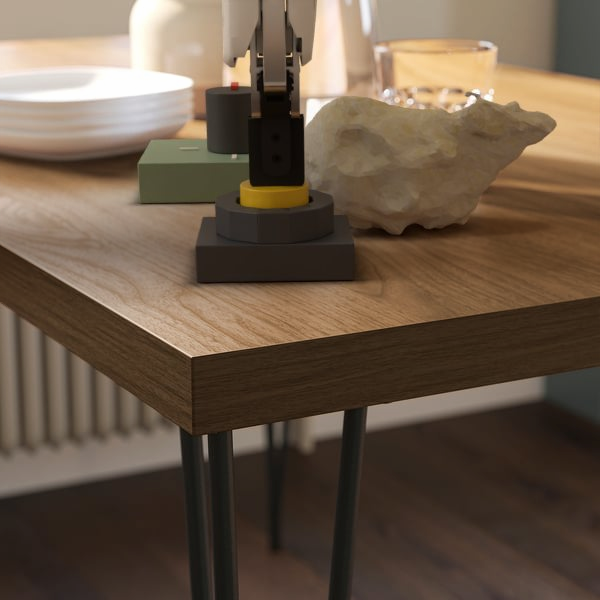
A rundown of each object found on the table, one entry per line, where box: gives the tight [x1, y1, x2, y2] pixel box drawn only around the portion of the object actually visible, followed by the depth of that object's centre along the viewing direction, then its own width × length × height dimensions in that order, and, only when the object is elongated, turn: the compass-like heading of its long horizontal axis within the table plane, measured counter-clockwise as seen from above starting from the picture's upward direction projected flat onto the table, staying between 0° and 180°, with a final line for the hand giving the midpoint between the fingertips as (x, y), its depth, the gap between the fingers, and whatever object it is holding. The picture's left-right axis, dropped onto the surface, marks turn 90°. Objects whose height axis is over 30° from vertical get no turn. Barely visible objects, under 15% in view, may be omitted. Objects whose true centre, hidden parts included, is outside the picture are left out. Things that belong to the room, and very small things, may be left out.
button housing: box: [194, 189, 356, 283], centre depth 70 cm, size 9×7×4 cm
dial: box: [204, 81, 252, 154], centre depth 90 cm, size 4×4×5 cm
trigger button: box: [240, 180, 309, 209], centre depth 69 cm, size 4×4×2 cm
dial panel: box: [137, 138, 249, 204], centre depth 91 cm, size 14×10×3 cm
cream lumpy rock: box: [304, 91, 558, 236], centre depth 78 cm, size 15×7×15 cm
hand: (277, 183), depth 69 cm, fingers closed
